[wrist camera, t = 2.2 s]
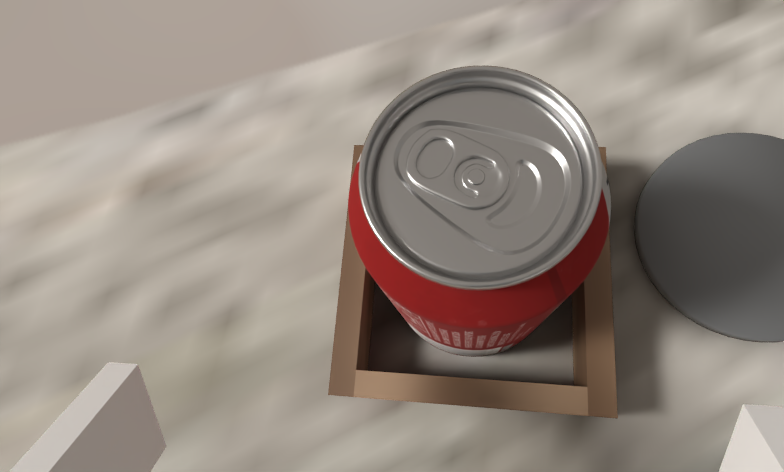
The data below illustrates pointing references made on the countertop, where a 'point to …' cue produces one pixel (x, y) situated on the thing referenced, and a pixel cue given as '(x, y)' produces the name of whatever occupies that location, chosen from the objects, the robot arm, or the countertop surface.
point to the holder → (584, 398)
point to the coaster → (719, 234)
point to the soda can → (479, 206)
